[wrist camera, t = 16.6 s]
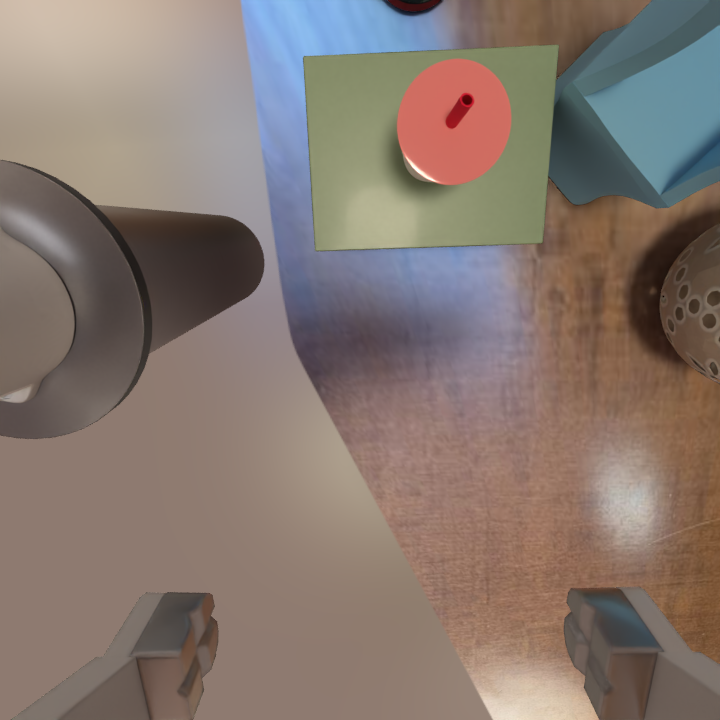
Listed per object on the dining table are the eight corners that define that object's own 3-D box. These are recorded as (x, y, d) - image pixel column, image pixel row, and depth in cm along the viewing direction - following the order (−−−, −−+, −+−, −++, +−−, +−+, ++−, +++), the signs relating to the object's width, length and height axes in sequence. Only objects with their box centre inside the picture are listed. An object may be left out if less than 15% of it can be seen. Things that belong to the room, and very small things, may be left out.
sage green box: (327, 245, 41) (314, 251, 31) (319, 99, 38) (302, 55, 28) (501, 239, 41) (543, 243, 31) (510, 91, 37) (559, 44, 28)
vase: (508, 127, 38) (749, -45, 14) (603, 31, 36) (1079, -366, 12) (579, 213, 40) (898, 191, 16) (673, 127, 38) (1206, -49, 14)
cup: (420, 90, 28) (456, -3, 17) (486, 142, 29) (563, 86, 18) (372, 165, 30) (376, 126, 18) (436, 213, 30) (478, 204, 19)
